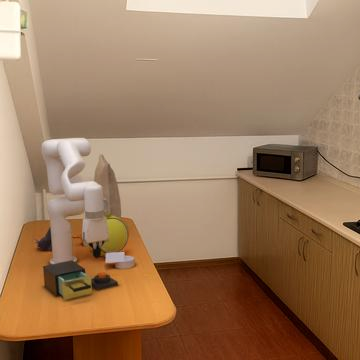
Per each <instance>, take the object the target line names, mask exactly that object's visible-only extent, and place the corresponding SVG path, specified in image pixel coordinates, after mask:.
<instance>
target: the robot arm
mask: <svg viewBox="0 0 360 360" xmlns="http://www.w3.org/2000/svg"><path fill="white" fill-rule="evenodd" d="M40 147H41V148H40V149H41V150H40V151H41V156H42V158H43V161H44V164H45V166H46V174H47V175H46V176H47V185H48V186H47V187H48V190H49V193H50V194H51V195H53V196H60V197H55V198H52V199H49V201H48V202H47V204H46V210H47V214H48V218H49V225H50V226H49V228H50V227H51V240H52V250H51V251H52V258H50V260H49V265H51V264H56V263H61V262H66V261H71V260H72V261H74V262H75V263H77V261H78V258H77V257H76V256H74V246H73V245H74V244H73V238H72V235H73V231H72V224H71V223H70V221H68V219H66V218H69V217H73V216H79V215H83V214H84V215H85V217H84V218H83V219H82V225H81V234H82V239H83V241H84V242H83V244H82V245H83V246H85V247H88V246H90V247H91V248H92V251H93V252H92V251H91V252H92V256H93V258H95V259H100V258H101V256H100V255H101V248H102V245H103V244H104V243H106V242H108V241H109V239H108V238H109V232H108V225H107V220H106V217H105V215H104V214H105V213H107V210H104V205H103V188H102V186H101V185H98V184H97V183H96V182H94V180H93V181H91V180H90V181H84V180H83V177H82V176H81V175H80V173H81V172H82V171H84V169H85V168H86V163H85V161H84V159H83V157H89V155H90V154H91V150H92V147H91V144H90V142H89V141H88V139H87V138H85V137H70V138H69V137H68V138H66V137H65V138H54V139H53V138H52V139H47V140H45V141H43V142H42V144H41V146H40ZM62 195H64V196H62ZM95 242H97V246H96V243H95Z"/></svg>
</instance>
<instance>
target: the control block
mask: <svg viewBox="0 0 360 360" xmlns="http://www.w3.org/2000/svg"><path fill="white" fill-rule="evenodd" d="M91 284H92V289H95V290H96V291H102V290H105V289H110V288H114V287H118V286H119V281H117V280H115V279H114V278H112V277H111V275H110V274H107V273H106V278H98V274H96V275H94V277H91Z"/></svg>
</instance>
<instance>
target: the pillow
mask: <svg viewBox="0 0 360 360" xmlns="http://www.w3.org/2000/svg"><path fill="white" fill-rule="evenodd" d="M93 181H94V182H96V183H97V184H98V185H101V186H102V188H103V197H105V198H106V199H107V201H108V213H110V214H111V215H112V216H115V217H117V218H119V219H120V220H121V221H122V206H121V205H122V203H121V196H120V195H121V194H120V191H119V186H118V182H117V178H116V174H115V171H114V169H113V168H112V167H111V164H110V163H109V162H108V161H107V159H106V158H105V156H104V155H103V154H99V155H98V162H97V164H96V167H95V170H94V177H93Z"/></svg>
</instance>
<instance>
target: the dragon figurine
mask: <svg viewBox="0 0 360 360" xmlns="http://www.w3.org/2000/svg"><path fill="white" fill-rule="evenodd" d="M72 239H80V241H81V244H82V245H83V242H84V241H83V239H82V233H81V234H72ZM34 241H35V242H34V243H35V244H36V247H37V248H39V249H40V250H42V251H52V240H51V227H50V226H49V228H48V230H47V231H46V233H45V235H44V237H42V238H41V239H40V240H38V239H36V238H34Z"/></svg>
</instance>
